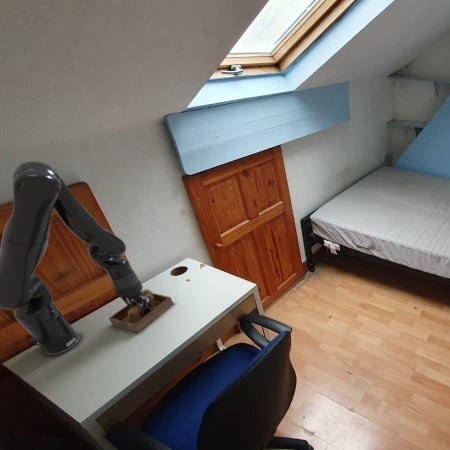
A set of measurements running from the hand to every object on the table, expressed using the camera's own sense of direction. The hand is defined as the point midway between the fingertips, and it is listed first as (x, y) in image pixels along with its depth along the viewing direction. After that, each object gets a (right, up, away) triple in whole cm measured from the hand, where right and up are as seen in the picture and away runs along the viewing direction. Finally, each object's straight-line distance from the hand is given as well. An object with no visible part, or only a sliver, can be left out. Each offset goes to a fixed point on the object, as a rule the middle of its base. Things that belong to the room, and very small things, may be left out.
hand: (144, 312), depth 130 cm
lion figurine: (0, -1, +1) cm, 1 cm away
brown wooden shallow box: (0, -1, +1) cm, 1 cm away
